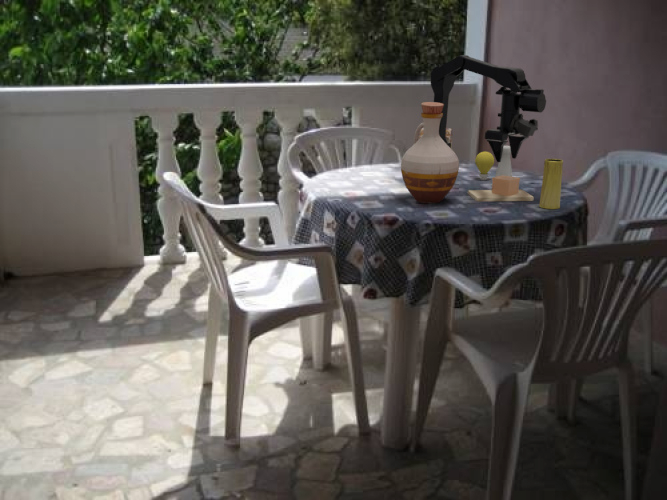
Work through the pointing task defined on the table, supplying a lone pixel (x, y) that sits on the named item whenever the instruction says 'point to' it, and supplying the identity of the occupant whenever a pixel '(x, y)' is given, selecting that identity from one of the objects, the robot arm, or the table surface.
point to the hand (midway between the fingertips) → (506, 160)
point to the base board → (498, 196)
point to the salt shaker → (504, 163)
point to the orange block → (505, 185)
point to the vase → (551, 184)
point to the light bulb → (484, 164)
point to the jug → (429, 160)
